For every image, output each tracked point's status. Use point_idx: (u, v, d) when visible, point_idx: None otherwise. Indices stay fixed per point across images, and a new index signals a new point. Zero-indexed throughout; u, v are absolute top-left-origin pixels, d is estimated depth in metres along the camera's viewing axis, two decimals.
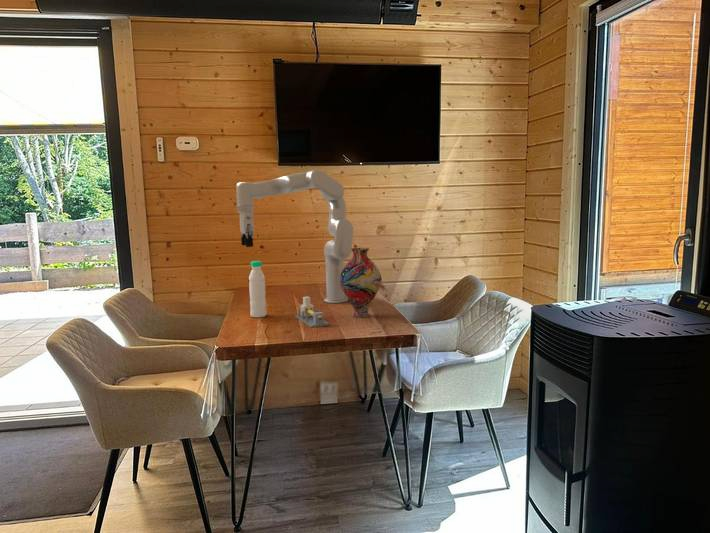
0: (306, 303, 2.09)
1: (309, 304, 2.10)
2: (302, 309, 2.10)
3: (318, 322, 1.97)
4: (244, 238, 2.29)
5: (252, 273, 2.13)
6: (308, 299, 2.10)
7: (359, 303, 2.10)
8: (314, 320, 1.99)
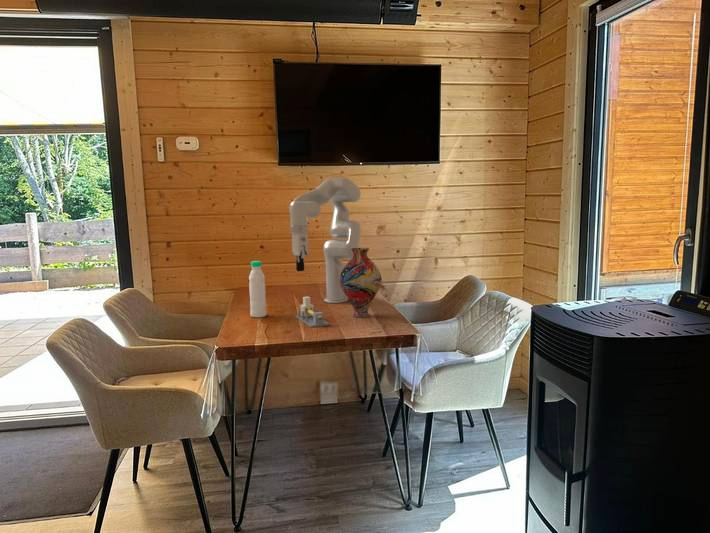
0: (306, 303, 2.09)
1: (309, 304, 2.10)
2: (302, 309, 2.10)
3: (318, 322, 1.97)
4: None
5: (252, 273, 2.13)
6: (308, 299, 2.10)
7: (359, 303, 2.10)
8: (314, 320, 1.99)
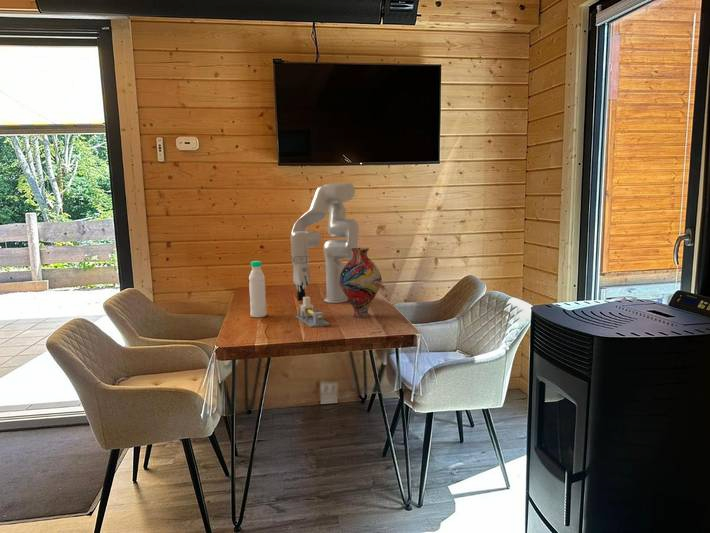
0: (306, 303, 2.09)
1: (309, 304, 2.10)
2: (302, 309, 2.10)
3: (318, 322, 1.97)
4: None
5: (252, 273, 2.13)
6: (308, 299, 2.10)
7: (359, 303, 2.10)
8: (314, 320, 1.99)
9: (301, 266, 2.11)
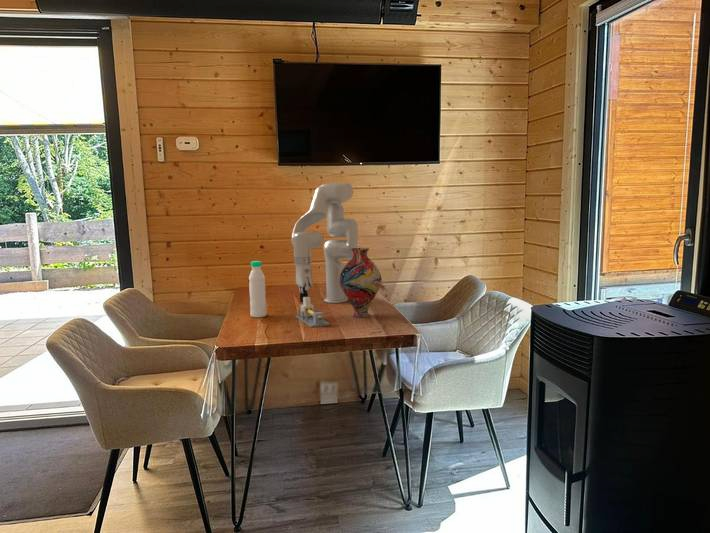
0: (306, 303, 2.09)
1: (309, 304, 2.10)
2: (302, 309, 2.10)
3: (318, 322, 1.97)
4: None
5: (252, 273, 2.13)
6: (308, 299, 2.09)
7: (359, 303, 2.10)
8: (314, 320, 1.99)
9: (304, 267, 2.08)
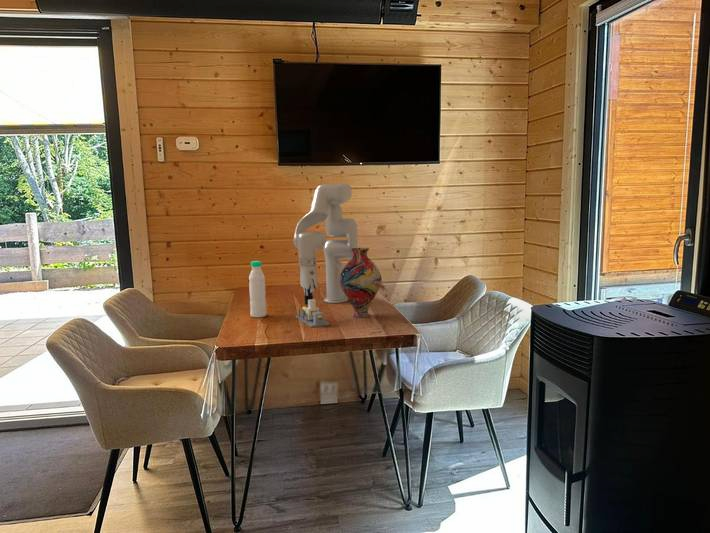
0: (311, 306, 2.04)
1: (314, 307, 2.04)
2: (307, 312, 2.04)
3: (318, 322, 1.97)
4: None
5: (252, 273, 2.13)
6: (313, 302, 2.04)
7: (359, 303, 2.10)
8: (314, 320, 1.99)
9: (309, 269, 2.02)
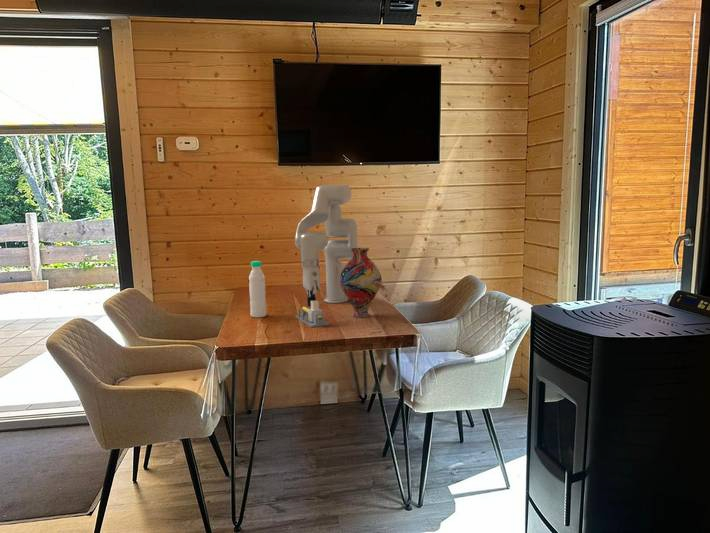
0: (314, 307, 2.00)
1: (317, 308, 2.01)
2: (310, 313, 2.01)
3: (318, 322, 1.97)
4: None
5: (252, 273, 2.13)
6: (316, 303, 2.01)
7: (359, 303, 2.10)
8: (314, 320, 1.99)
9: (311, 270, 1.99)
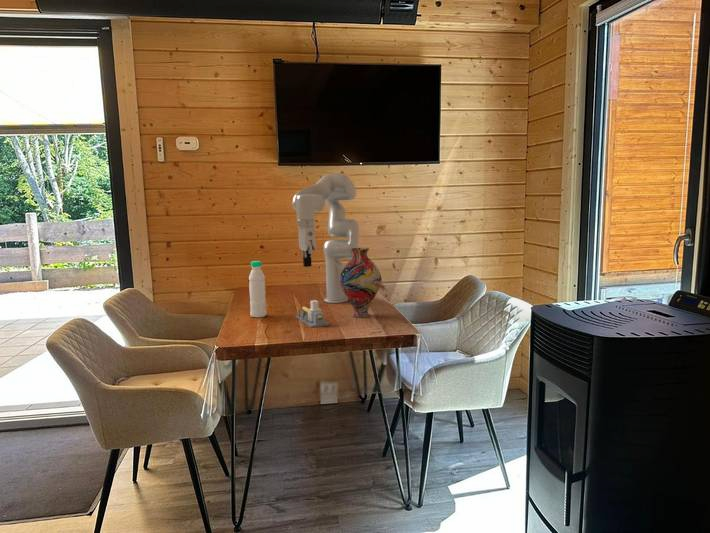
0: (314, 307, 2.01)
1: (317, 308, 2.01)
2: (309, 313, 2.01)
3: (318, 322, 1.97)
4: None
5: (252, 273, 2.13)
6: (316, 303, 2.01)
7: (359, 303, 2.10)
8: (314, 320, 1.99)
9: (307, 230, 2.02)
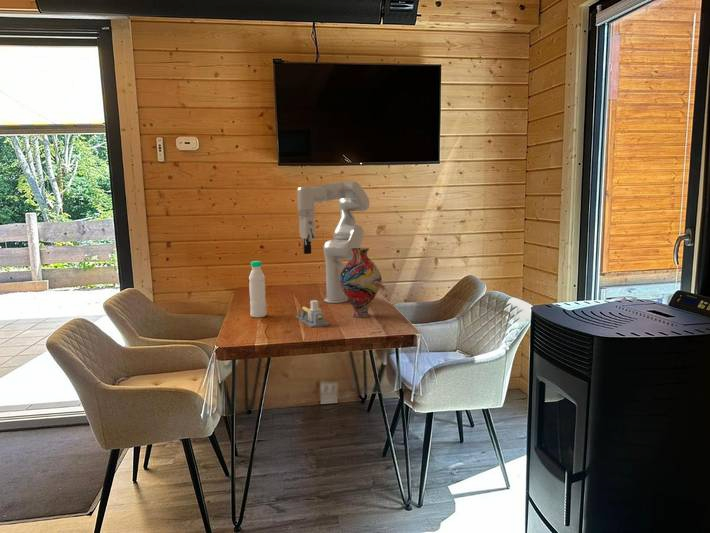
0: (314, 307, 2.01)
1: (317, 308, 2.01)
2: (309, 313, 2.01)
3: (318, 322, 1.97)
4: None
5: (252, 273, 2.13)
6: (316, 303, 2.01)
7: (359, 303, 2.10)
8: (314, 320, 1.99)
9: (307, 219, 2.17)
